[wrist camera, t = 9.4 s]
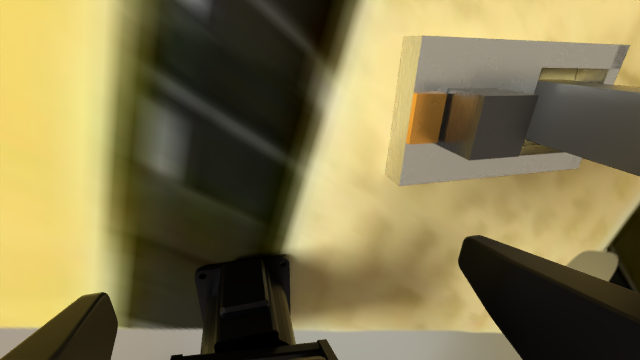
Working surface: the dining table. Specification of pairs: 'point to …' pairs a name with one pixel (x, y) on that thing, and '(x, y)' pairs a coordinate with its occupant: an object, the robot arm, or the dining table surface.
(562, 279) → the robot arm
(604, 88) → the plug
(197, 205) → the dining table surface
